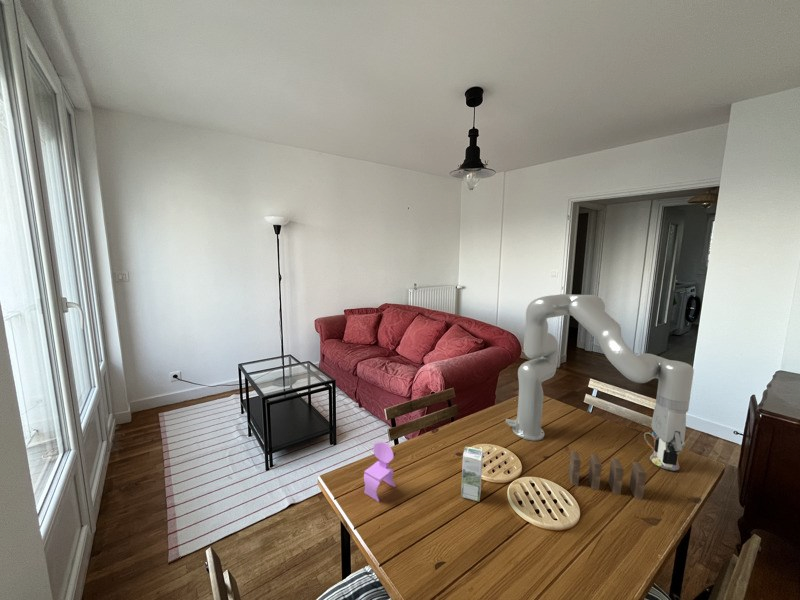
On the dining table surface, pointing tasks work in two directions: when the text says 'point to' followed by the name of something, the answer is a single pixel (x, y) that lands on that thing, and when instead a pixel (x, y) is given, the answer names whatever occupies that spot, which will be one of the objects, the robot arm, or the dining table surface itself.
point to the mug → (655, 458)
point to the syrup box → (471, 473)
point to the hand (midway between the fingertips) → (664, 457)
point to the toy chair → (379, 470)
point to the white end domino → (661, 451)
